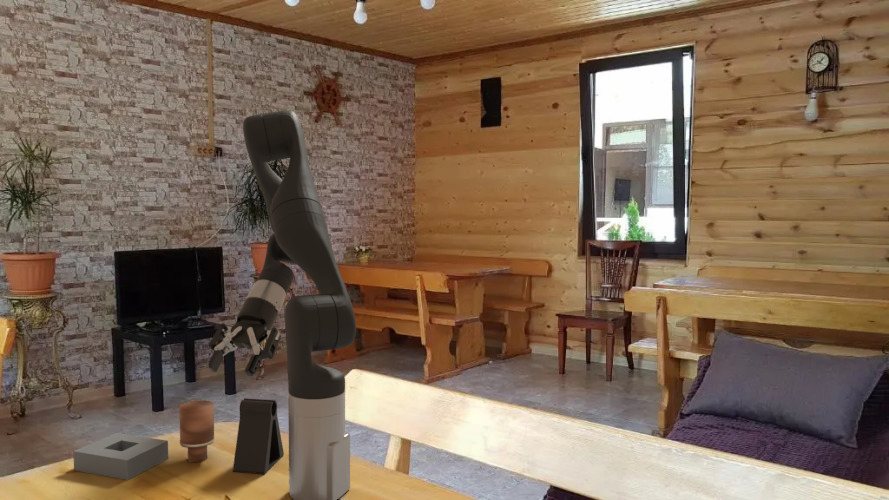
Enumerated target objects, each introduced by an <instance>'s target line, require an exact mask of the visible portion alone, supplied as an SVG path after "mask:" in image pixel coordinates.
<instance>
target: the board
mask: <svg viewBox="0 0 889 500" xmlns="http://www.w3.org/2000/svg"><path fill="white" fill-rule="evenodd" d="M168 459H169V440H167V439H158V438H153V437H147V436H146V437H145V436H140V435H134V434H128V433H127V434H126V433H120V432H116V433H113V434H110V435H108V436H105V437H103V438H101V439H98V440H96V441H94V442H91V443H90V444H87V445H84V446H82V447H80V448H78V449H75V450H73V471H76V472H83V473H88V474H94V475H98V476H105V477H109V478H114V479H115V478H116V479H121V480H127V481H128V480H131V479H133V478H135V477H136V476H138V475H140V474H142V473H144V472H146V471H148V470H150V469H152V468H154V467H156V466H158V465H159V464H162V463H164V462H166V461H167V460H168Z"/></svg>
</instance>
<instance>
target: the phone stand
mask: <svg viewBox="0 0 889 500" xmlns="http://www.w3.org/2000/svg"><path fill="white" fill-rule="evenodd" d="M236 436H237V437H236V444H235V446H236V447H235V452H234V459H233V467H232V472H234V473H247V474H256V475H257V474H258V475H259V474H260V475H265V474H267V473H268V472H269V471H270V470H271V469H272V468H273V467H274V466H275V465H276V464H277V463H279V461H280V460H281V459H282V458H283V457H284V456H285V455H284V447H283V440H282V435H281V431H280V424H279V418H278V403H277V400H276V399H275V400H274V399H263V398H262V399H260V398H246V397H245V398H243V399H241V400H240V404H239V420H238V428H237V435H236Z"/></svg>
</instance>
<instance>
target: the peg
mask: <svg viewBox="0 0 889 500" xmlns="http://www.w3.org/2000/svg"><path fill="white" fill-rule="evenodd" d="M178 409H179V445H180V446H181V447H183V448H185V449H186V448H187V460H188V461H189V462H190V463H201V462H205V461H206V460H207V459H208V446H210V445H212V444H213V443H215V440H216V436H215V413H214V412H215V404H214V402H213V401H210V400H192V401H187V402H184V403H182V404H180V405H179V407H178Z"/></svg>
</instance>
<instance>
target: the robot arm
mask: <svg viewBox="0 0 889 500" xmlns="http://www.w3.org/2000/svg"><path fill="white" fill-rule="evenodd" d="M242 124H243V125H242V126H243V127H242V130H243V138H244V142H245V147H246V150H247V153H248V156H249V157H248V158H249V161H250V163H251V166H252V169H253V171H254V174H255V178H256V180H257V183H258V186H259V188H260V191H261V194H262V196H263V198H264V203H265V207H266V210H267V217H268V220H269V224H270V227H271V231H272V232H273V233H272V234H271V235H270V236H269V238H268V240H267V246H266V252H265V253H266V255H265V259H264V263H263V266H262V267H263V268H262V269H261V271H260V274H259V275H258V277H257V279H256V281H255V283H254V285H253V286H252V287H251V289H250V290H249V292H248V294H247V295H246V298H245V300H244V302H243V304H242V306H241V307H240V310H239V312H238V314H237V317H236V322H235V323H234V324H233V325H232V326H229V325H226V324H225V322H222V323H220V324H219V326H218V328H217V330H216V332H214V335H213V336H212V338H211V340H210V341H209V343H208V345H207V346H208V348H209V349H210V350H211V351H212V352H213V353H212V356H211V357H210V359H209V361H208V365H207V366H208V369H209V370H210V371H211V372H212V373H213V372H214V373H217V372H218V370H219V368H220V366H221V363H222V362H223V361H224V358H225V357H224V356H226V355H227V354H229V353H231V352H234V351H235V350H237V349H246V350H253V354H252V355H251V356H250V358H249V361H248V362H247V365H246V367H245V369H244V373H245V374H246V376H248V377H253V376H254V375H255V374H256V373H257V371H258V369H259V368H260V365H261V363H262V361H264V360H265V359H268V360H271V359H273V358H274V356H275V353H276V351H277V348H278V346H279V344H280V341H281V338H282V334H281V333H280V331H279V330H278V329H277V327H273V326H274V324H275V322H276V320H277V318H278V315H279V314H280V312H281V309H282V308H283V305H284V302H285V299H286V295H287V294H288V292H289V289H290V287H291V285H292V283H293V281H294V279H295V275H294V271H293V269H292V268H291V267H290V266H288V265H286V264H287V263H288V264H291V265H296V266H298V267H299V268H300V269H301V270H302V271H303V272H304V273H306V275H307V276H309V279H310V280H312V282H313V283H314V285H315V287H316V289H317V290H318V293H319V294H317V293H316V294H307V295H305V294H303V295H296V296H293V297H290V299H289V300H288V302H287V304H286V306H285V313H284V328H285V329H284V330H285V341H286V343H285V344H286V346H285V347H286V368H287V369H286V370H287V382H288V383H287V384H288V386H287V387H288V471H289V472H288V475H289V476H288V486H289V488H288V490H289V493H288V494H289V496H290V498H291V499H292V500H337V499H338V500H339V499H340V498H341V497H342V496H343V495H345V493H347V492H348V491H349V490H350V489H351V434H349V433H346V377H345V374H344V373H343V372H342V371H340V370H339V369H336V368H333V367H328V366H324V365H321V364H318V363H316V362H315V361H313V358H312V353H313V352H314V353H315V352H322V351H323V352H324V351H329V350H338V349H345V348H348V347H350V346H351V345H352V344H353V343H354V342H355V338H356V333H357V323H356V316H355V311H354V308H353V304H352V301H351V298H350V295H349V292H348V290H347V287H346V284H345V282H344V279H343V277H342V274H341V271H340V270H339V269H340V268H339V267H338V264H337V260H336V257H335V254H334V250H333V246H332V243H331V239H330V235H329V230H328V226H327V222H326V221H327V220H326V217H325V214H324V210H323V207H322V205H321V204H322V203H321V201H320V198H319V197H320V196H319V195H318V192H317V189H316V185H315V182H314V179H313V175H312V170H311V166H310V160H309V157H308V151H307V146H306V141H305V140H306V139H305V136H304V132H303V127H302V124H301V121H300V119H299V117H298V115H297V114H296V112H294V111H293V110H285V109H284V110H277V111H271V112H266V113H258V114H253V115H249V116H246V117H245V119H244V120H243V123H242ZM286 159H289V162H288V167H287V169H286V173H285V175H284V177H283V178H281V177H280V176H279V175H278V174H276V172H275V171H274V170H273V169H272V167H271V166H270V165H269V162H275V161H281V160H286ZM285 263H286V264H285ZM266 339H267V340H266ZM265 340H266V342H265V345H264V347H263V345H262V343H263V341H265ZM231 341H232V342H233V343H230V342H231Z"/></svg>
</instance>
